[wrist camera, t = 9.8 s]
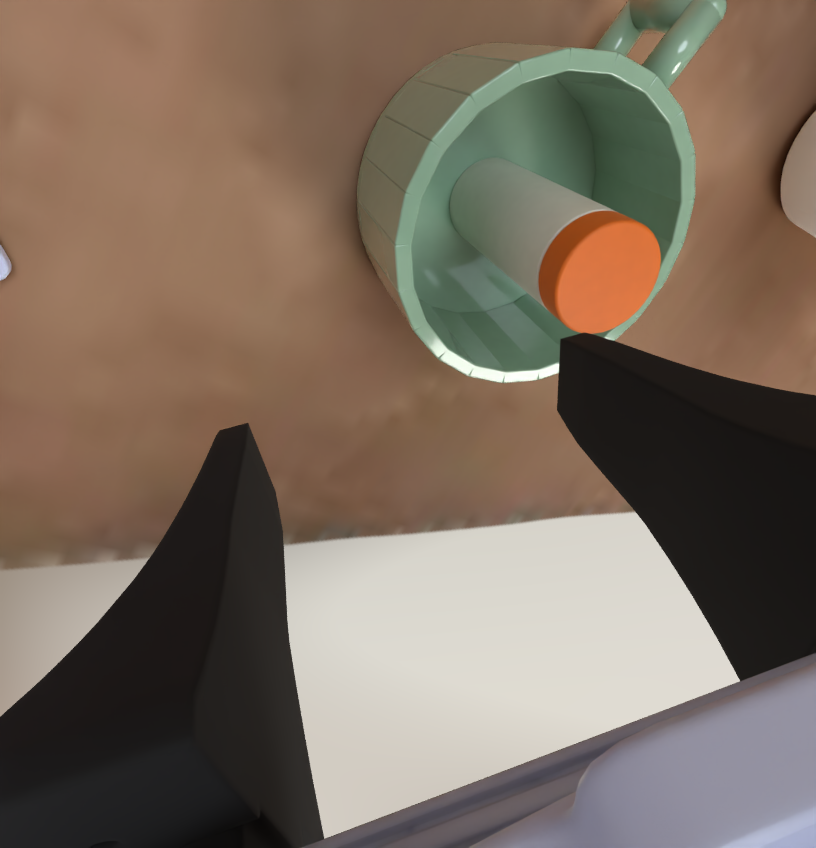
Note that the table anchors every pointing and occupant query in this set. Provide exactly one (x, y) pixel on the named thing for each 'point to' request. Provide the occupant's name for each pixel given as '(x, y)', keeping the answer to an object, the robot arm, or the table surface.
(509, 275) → the glue stick
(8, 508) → the table surface
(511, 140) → the mug
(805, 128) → the cup
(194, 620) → the robot arm
